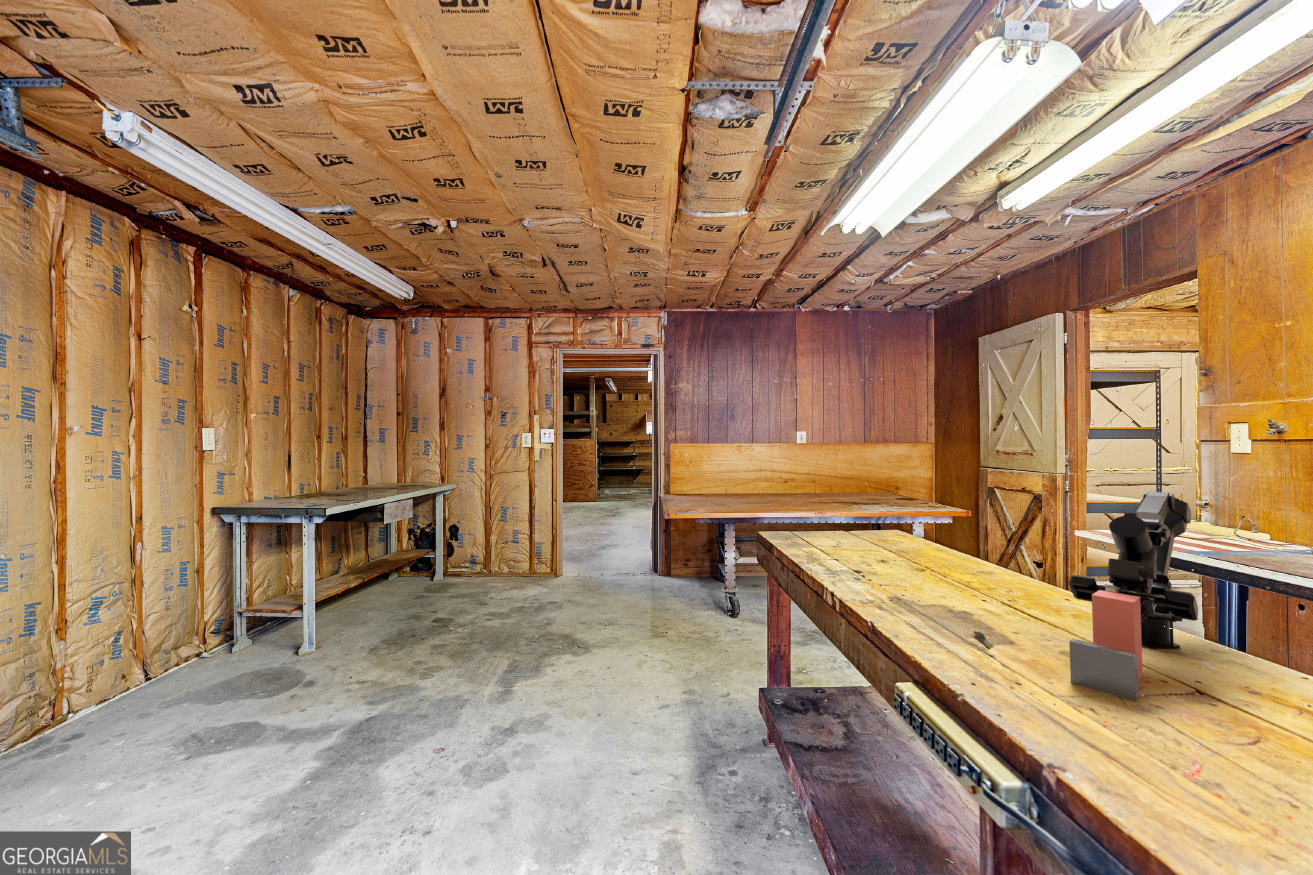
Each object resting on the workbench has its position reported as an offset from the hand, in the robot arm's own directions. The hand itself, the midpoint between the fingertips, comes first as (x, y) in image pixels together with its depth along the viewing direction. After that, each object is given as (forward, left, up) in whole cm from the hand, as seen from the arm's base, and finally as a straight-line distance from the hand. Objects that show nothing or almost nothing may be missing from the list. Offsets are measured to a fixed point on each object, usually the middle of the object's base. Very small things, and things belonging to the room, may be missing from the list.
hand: (1123, 632), depth 100 cm
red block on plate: (+3, +3, -7) cm, 8 cm away
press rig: (+6, +5, -8) cm, 12 cm away
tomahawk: (+17, -10, -9) cm, 22 cm away
